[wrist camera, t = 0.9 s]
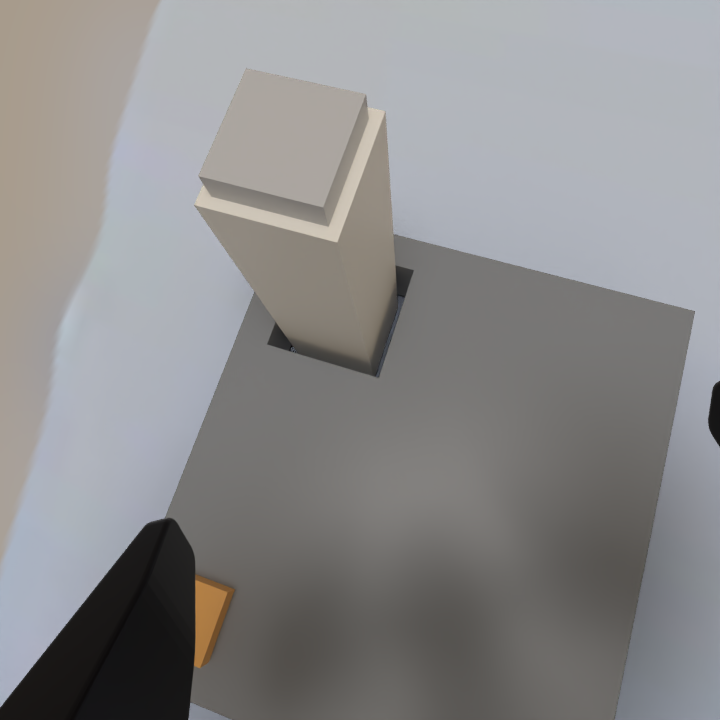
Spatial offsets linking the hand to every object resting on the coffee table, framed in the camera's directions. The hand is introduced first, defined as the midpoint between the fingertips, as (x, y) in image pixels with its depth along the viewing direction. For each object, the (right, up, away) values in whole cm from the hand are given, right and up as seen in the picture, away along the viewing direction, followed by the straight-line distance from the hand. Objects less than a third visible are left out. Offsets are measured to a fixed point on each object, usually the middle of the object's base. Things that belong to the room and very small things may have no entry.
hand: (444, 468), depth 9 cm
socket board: (+1, -3, +14) cm, 14 cm away
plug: (-2, +3, +16) cm, 16 cm away
